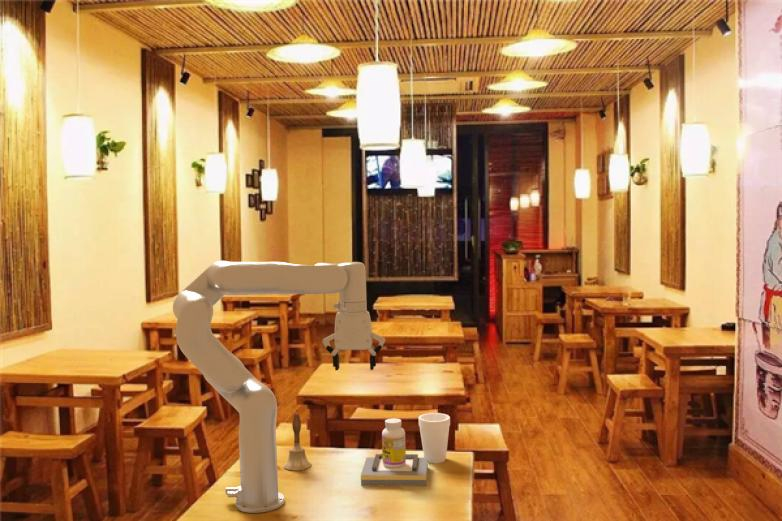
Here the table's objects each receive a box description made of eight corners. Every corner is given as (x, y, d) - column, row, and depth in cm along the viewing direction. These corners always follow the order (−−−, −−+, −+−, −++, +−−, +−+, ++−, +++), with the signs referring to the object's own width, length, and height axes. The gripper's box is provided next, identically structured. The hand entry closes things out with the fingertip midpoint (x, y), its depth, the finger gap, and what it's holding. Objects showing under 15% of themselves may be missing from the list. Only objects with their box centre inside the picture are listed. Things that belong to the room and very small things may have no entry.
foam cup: (451, 454, 223) (450, 413, 223) (450, 465, 214) (449, 421, 213) (420, 454, 224) (419, 412, 223) (418, 464, 215) (417, 421, 214)
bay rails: (372, 470, 203) (371, 467, 203) (375, 457, 213) (375, 454, 213) (416, 471, 202) (416, 467, 202) (418, 457, 212) (417, 454, 212)
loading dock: (361, 485, 200) (360, 474, 200) (366, 467, 214) (366, 457, 214) (426, 486, 198) (426, 474, 198) (427, 467, 213) (427, 457, 212)
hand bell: (296, 459, 222) (295, 408, 221) (317, 464, 218) (315, 412, 217) (277, 467, 216) (275, 415, 215) (298, 473, 211) (296, 419, 210)
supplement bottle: (379, 462, 209) (378, 419, 208) (400, 459, 211) (399, 415, 210) (388, 470, 203) (386, 425, 202) (409, 466, 205) (408, 421, 204)
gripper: (319, 309, 195) (321, 372, 196) (383, 308, 193) (384, 372, 194) (323, 306, 202) (325, 366, 203) (385, 305, 201) (387, 366, 202)
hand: (354, 369), depth 199 cm, fingers open, 9 cm apart
